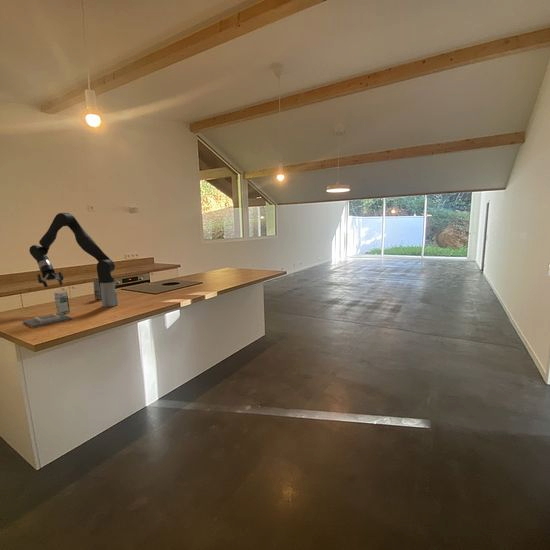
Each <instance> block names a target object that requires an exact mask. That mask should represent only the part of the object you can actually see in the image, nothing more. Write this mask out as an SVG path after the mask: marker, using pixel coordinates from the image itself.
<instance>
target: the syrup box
mask: <svg viewBox="0 0 550 550" xmlns="http://www.w3.org/2000/svg"><path fill="white" fill-rule="evenodd" d="M53 295H54V302H55V303H54V304H55V308H56V310H55V311H56V314H57V313H59V314H63V315H65V314H70V313H71V309H70V304H69V301H70V300H69V294H68V291H66V290H62V291H61V290H60V291H57V292H54V293H53ZM69 312H70V313H69ZM64 313H65V314H64Z"/></svg>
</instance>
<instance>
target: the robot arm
mask: <svg viewBox="0 0 550 550" xmlns="http://www.w3.org/2000/svg"><path fill="white" fill-rule="evenodd" d="M64 227H67V228H69V229H70V230H71V232H72V233H73V235H74V237H75V241H76V243H77V245H78V246H79V247H80V248H81V249H82V250H83V252H86V253H87V254H88V255H89V256H92V258H94V259H96V261H97V264H96V272H97V279H99V280H100V288H101V297H102V300H101V305H102V307H103V308H109V307H115V306H118V305H119V302H118V293H117V291H116V284H115V277H113V276H112V273H111V272H114V271H115V268H116V265H115V262H114V261H113V260H112V259H111V258H110V257H109V256H108V255H106V253H105V252H104V251H103V250H102V249H101V248H100V247H99V245H98V244H97V243H96V241H94V240H93V239H92V237H91V236H90V235H89V234H88V233H87V231H86V230H85V229H84V228H83V227H82V225H81V224H80V223H79V222H78V220H77V219H76V217H75V216H74V215H73V214H72V213H70V212H59V213H57V214H56V215H55V217H54V218H53V219H52V222H51V223H50V225H49V227H48V229H47V231H46V232H45V234H44V235H43V236H42V237H41V238H40V239H39V241H38V242H39V245H38V244H37V245H36V244H33V245H31V246H30V247H29V249H28V250H29V254H30V255H31V256H32V258H33V259H35V261H36V263H37V265H38V269H39V271H40V273H41V274H40V273H38V274H37V275H36V276H37V280H38V283H39V284H42V285H43V287H45V288H48V284H47V280H48V281H50V280H52V281H53V280H55V281H58V284H59V286H62V285H63V280H64V275H63V273H62V272H61V271H59V272H56V271H55V269H54V266H53V265H52V263H51V260H50V259H49V257H48V252H49V250H50V248H51V246H52V245H53V243H54V242H55V241H56V239H57V235H58V232H59V231H60V230H61V229H62V228H64ZM42 278H43V279H42Z"/></svg>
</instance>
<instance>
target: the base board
mask: <svg viewBox="0 0 550 550" xmlns="http://www.w3.org/2000/svg"><path fill="white" fill-rule="evenodd" d="M70 319H72V320H73V318H72V317H71V316H69V315H66V314H57V313H52V314H45V315H40V316H35V317H34V318H31V319H26V320H25V319H24V320H22V321H23V322H24V323H23V322H22V323H23V324H25V323H26V324H25V325H27V324H28V325H27V326H29V325H30V326H32V327H35V328H38V327H37V326H40V327H43V326H42V325H44V326H48V325H47V324H49V325H52V324H51V323H54V324H57V323H56V322H58V323H61V322H60V321H63V322H66V321H65V320H68V321H71V320H70ZM30 326H29V327H30ZM32 327H31V328H32Z"/></svg>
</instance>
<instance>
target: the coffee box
mask: <svg viewBox="0 0 550 550" xmlns="http://www.w3.org/2000/svg"><path fill="white" fill-rule="evenodd" d="M92 280H93V281H92V282H93V292H94V293H93V295H94V300H95V299H99V300H98V301H102V297H101V288H100V280H99V279H98V278H95V279H92Z"/></svg>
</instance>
